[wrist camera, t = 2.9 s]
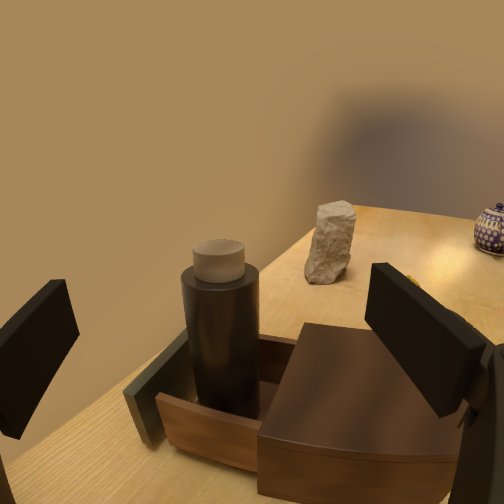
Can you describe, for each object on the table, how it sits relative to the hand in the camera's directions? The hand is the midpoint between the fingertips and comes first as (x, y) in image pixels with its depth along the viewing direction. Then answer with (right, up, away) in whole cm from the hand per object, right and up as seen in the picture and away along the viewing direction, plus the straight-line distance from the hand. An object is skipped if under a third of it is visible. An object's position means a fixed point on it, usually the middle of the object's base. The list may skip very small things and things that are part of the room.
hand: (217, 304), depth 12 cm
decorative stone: (+16, -3, +51) cm, 53 cm away
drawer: (-1, -14, +15) cm, 20 cm away
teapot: (+75, +2, +62) cm, 97 cm away
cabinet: (+11, -16, +11) cm, 22 cm away
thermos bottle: (-1, -13, +14) cm, 19 cm away
